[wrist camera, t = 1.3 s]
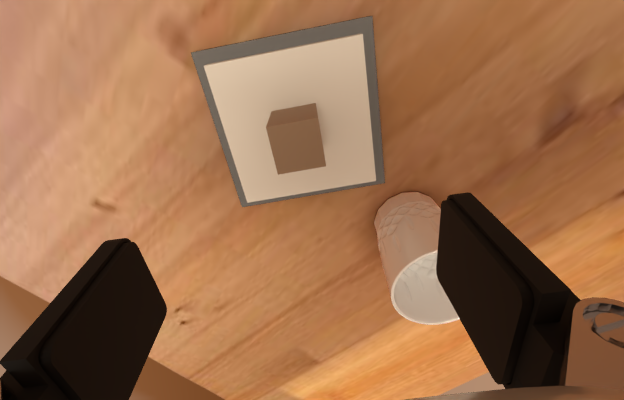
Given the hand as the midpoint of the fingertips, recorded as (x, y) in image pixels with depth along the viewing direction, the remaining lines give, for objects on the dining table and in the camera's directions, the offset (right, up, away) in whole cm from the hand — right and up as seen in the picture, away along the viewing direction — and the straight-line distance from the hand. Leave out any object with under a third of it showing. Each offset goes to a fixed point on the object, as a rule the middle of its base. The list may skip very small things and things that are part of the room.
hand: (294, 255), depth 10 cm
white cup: (+10, 0, +24) cm, 26 cm away
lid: (-1, +8, +18) cm, 19 cm away
